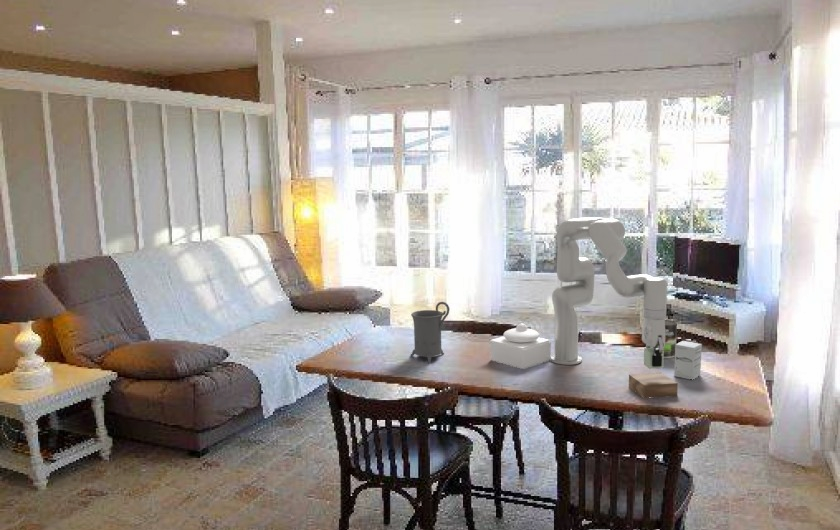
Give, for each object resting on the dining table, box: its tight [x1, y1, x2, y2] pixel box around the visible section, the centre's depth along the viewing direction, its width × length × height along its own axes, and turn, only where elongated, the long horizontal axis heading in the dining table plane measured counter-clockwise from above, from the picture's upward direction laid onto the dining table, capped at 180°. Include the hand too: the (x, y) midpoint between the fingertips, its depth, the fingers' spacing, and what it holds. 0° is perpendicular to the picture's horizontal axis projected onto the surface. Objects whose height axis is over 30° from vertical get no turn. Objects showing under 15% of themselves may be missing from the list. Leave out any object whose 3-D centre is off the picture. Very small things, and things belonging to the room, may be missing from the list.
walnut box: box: [628, 372, 679, 399], centre depth 225 cm, size 12×12×5 cm
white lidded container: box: [489, 322, 552, 370], centre depth 265 cm, size 18×18×16 cm
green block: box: [643, 347, 665, 370], centre depth 223 cm, size 5×5×6 cm
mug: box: [410, 301, 450, 364], centre depth 270 cm, size 19×15×25 cm
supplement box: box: [673, 340, 703, 381], centre depth 239 cm, size 7×7×13 cm
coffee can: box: [655, 319, 678, 359], centre depth 267 cm, size 10×10×14 cm
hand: (653, 363), depth 223 cm, fingers closed on green block, 5 cm apart
